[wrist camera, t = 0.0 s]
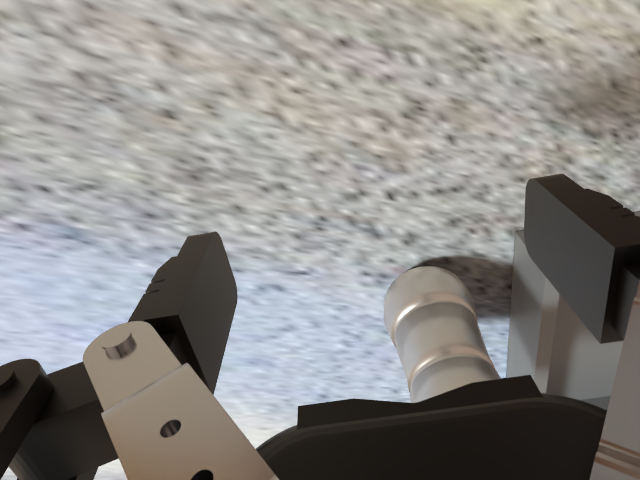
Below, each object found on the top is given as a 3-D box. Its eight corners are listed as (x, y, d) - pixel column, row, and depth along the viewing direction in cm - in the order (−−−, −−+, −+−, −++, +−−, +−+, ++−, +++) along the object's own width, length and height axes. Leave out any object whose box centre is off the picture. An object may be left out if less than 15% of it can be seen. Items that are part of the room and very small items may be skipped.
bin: (515, 231, 32) (546, 273, 28) (751, 193, 31) (821, 230, 27) (504, 406, 43) (525, 456, 39) (680, 383, 42) (721, 432, 37)
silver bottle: (369, 315, 36) (421, 630, 19) (393, 246, 33) (483, 559, 16) (444, 326, 37) (557, 637, 20) (476, 260, 34) (645, 571, 17)
